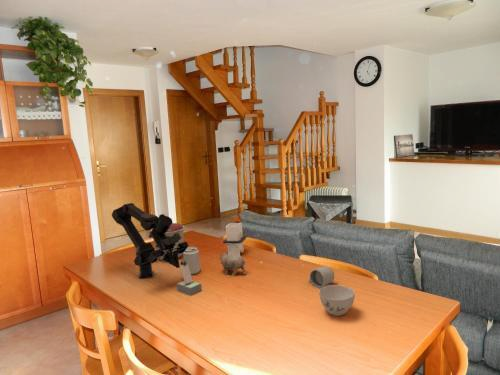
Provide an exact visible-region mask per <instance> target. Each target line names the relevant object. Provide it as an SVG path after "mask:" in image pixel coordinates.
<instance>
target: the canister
mask: <svg viewBox="0 0 500 375" xmlns="http://www.w3.org/2000/svg"><path fill="white" fill-rule="evenodd" d="M184 230H185V225H182V224H181V223H177V222H176V223H173V222H172V225H171V226H170V228H169V230H168V231H167V232H166V233H165V234H166V236H167V237H168V236H170V237H171V236H173V235H174V234H175V233H179V235H180V236H181V239H180V240H179V242H176V243H175V244H176V245H175V246H174V247H177V245H178V244H179V243H181V242H184V234H185V233H184V232H185V231H184ZM151 231H152V229H150V232H151ZM153 243H154V244H153V245H154V248H155V251H156V250H160V249H159V248H156V245H157V244H156V243H155V241H154V240H153ZM182 255H183V253H181V254H178V259H180V258H181V257H182ZM157 259H159V260H161V261H162V259H163V258H162V256H161V257H158V258H157Z"/></svg>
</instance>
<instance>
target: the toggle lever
mask: <svg viewBox="0 0 500 375" xmlns="http://www.w3.org/2000/svg"><path fill="white" fill-rule="evenodd" d="M179 265H180V267H179V268H180V271H181V273H182V276H183V279H184V280H183V281H185V283H186V284H187V283H190V282H192V281H194V280H193V276H192V274H191V273H190V270H189V267H188V264H187V263H186V261H184V260H181V262H180V264H179Z"/></svg>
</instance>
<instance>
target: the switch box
mask: <svg viewBox="0 0 500 375" xmlns="http://www.w3.org/2000/svg"><path fill="white" fill-rule="evenodd" d="M176 291H177V292H180V293H183V294H185V295H188V296H193V295H195V294H197V293H200V292H202V291H203V290H202V283H200V282H196V281H194V280H193V281H192V282H190V283H187V284H186V283H185V280H183V281H181V282H178V283H176Z"/></svg>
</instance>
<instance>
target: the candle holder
mask: <svg viewBox="0 0 500 375" xmlns="http://www.w3.org/2000/svg"><path fill="white" fill-rule="evenodd" d="M225 234H226V235H225V236H226V237H225V239H224V240H223V241H222V243H223V244H226V246H227V255H232V254H235V255H240V256H241V254H243V253H244V250H245V249H244V241H245V240H246V239H247V235H243V223H242V222H234V223H228V224H227V225H225Z"/></svg>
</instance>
